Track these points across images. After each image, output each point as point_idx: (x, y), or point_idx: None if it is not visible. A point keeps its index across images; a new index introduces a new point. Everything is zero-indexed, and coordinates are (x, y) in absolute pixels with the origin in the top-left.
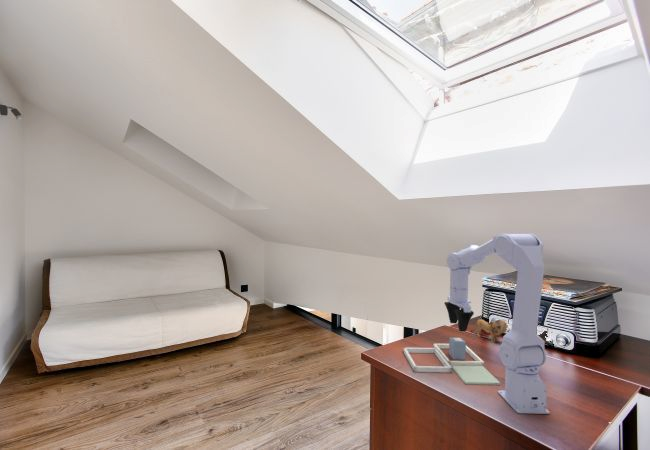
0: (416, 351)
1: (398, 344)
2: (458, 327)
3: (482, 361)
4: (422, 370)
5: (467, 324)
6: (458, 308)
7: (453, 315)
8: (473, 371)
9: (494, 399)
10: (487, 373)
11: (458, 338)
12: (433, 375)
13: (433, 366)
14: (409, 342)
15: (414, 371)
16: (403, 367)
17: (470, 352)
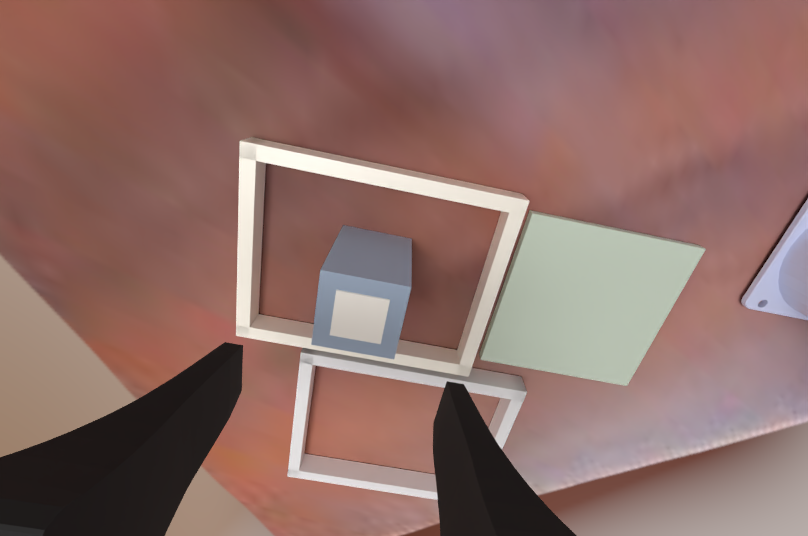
0: (306, 424)
1: None
2: (434, 452)
3: (514, 204)
4: None
5: (489, 437)
6: (130, 476)
7: (195, 434)
8: (564, 300)
9: (761, 344)
10: (607, 245)
11: (343, 302)
12: (517, 445)
13: None
14: None
15: None
16: (431, 503)
17: (368, 182)
